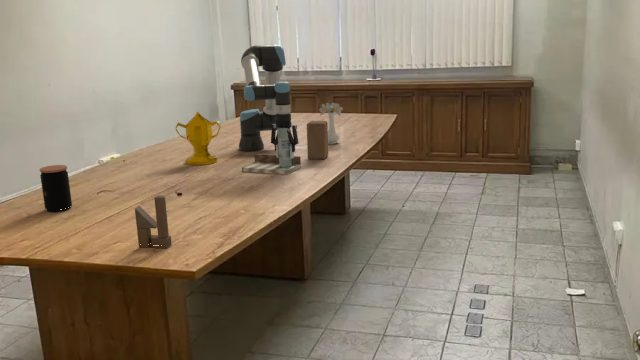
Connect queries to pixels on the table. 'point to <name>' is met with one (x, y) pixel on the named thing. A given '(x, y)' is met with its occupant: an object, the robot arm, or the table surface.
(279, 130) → the spray paint can
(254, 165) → the marking board
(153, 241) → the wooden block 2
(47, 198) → the coffee jar
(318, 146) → the wooden block
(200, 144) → the trophy cup
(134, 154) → the table surface
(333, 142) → the flower vase
